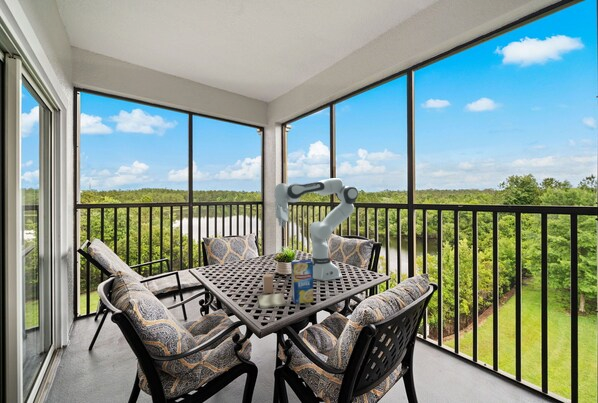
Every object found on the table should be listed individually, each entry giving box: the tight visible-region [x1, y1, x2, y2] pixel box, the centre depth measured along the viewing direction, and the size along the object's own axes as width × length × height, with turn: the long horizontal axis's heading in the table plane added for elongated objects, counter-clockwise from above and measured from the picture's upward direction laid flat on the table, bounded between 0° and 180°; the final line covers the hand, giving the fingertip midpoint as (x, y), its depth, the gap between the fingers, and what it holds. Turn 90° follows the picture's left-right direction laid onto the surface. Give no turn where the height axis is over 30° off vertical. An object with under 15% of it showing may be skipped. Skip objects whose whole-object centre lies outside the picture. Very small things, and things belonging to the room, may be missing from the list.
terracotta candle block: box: [262, 273, 274, 295], centre depth 157 cm, size 5×5×10 cm
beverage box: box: [290, 259, 314, 305], centre depth 144 cm, size 7×11×22 cm, turn 104°
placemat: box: [257, 292, 287, 310], centre depth 143 cm, size 14×14×1 cm
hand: (282, 226), depth 172 cm, fingers open, 8 cm apart
